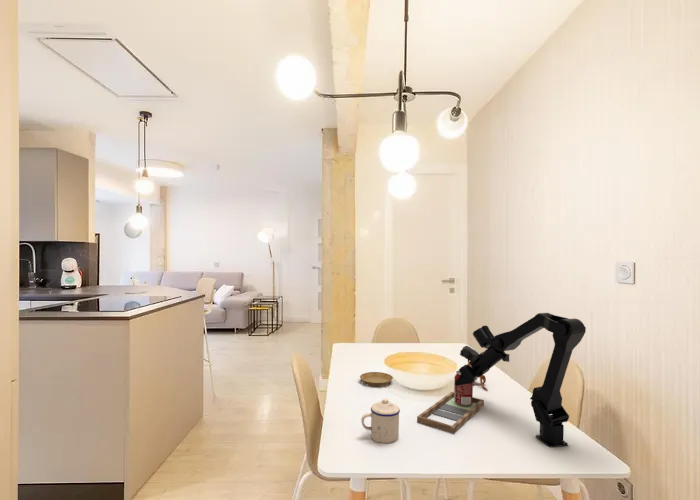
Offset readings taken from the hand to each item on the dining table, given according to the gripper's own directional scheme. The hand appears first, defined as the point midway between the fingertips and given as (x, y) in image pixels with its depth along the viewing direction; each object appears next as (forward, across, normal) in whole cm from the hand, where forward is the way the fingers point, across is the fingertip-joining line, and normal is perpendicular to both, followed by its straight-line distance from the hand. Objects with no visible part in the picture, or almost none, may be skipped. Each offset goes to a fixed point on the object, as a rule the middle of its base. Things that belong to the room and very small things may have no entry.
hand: (459, 381), depth 144 cm
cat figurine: (+8, -27, +4) cm, 29 cm away
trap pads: (+5, +10, +7) cm, 13 cm away
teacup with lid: (+13, +42, 0) cm, 44 cm away
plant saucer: (+33, 0, -21) cm, 39 cm away
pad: (+5, 0, +7) cm, 9 cm away
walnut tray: (+5, +10, +7) cm, 13 cm away
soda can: (+5, 0, +7) cm, 9 cm away
